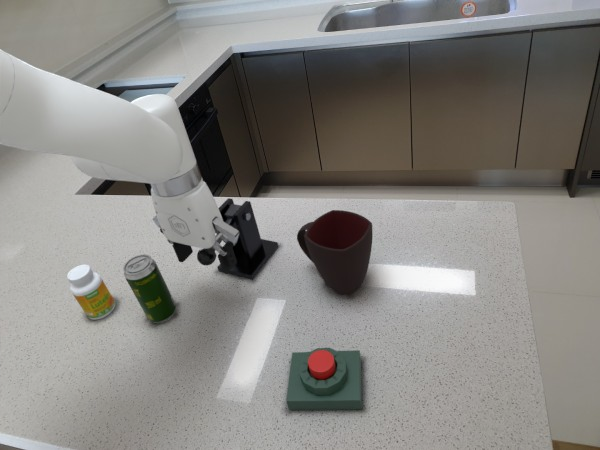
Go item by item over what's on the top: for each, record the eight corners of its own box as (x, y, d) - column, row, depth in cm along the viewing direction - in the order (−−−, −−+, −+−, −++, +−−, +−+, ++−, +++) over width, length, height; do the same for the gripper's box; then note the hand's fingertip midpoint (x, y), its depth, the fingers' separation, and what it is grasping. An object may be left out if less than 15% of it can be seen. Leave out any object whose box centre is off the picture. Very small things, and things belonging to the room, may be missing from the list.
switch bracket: (252, 280, 86) (235, 226, 78) (218, 271, 89) (199, 219, 82) (278, 246, 92) (265, 194, 85) (245, 239, 96) (230, 188, 88)
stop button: (336, 357, 65) (334, 349, 64) (335, 379, 62) (333, 371, 61) (310, 357, 65) (308, 350, 64) (308, 380, 62) (306, 372, 61)
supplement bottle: (99, 324, 83) (75, 286, 78) (81, 315, 86) (56, 278, 80) (122, 303, 87) (100, 265, 81) (103, 295, 90) (81, 258, 84)
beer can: (169, 297, 86) (146, 249, 79) (182, 312, 82) (159, 262, 75) (143, 314, 84) (116, 265, 76) (155, 329, 80) (128, 280, 73)
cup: (353, 311, 76) (345, 256, 68) (290, 282, 84) (277, 230, 77) (385, 274, 81) (380, 220, 74) (322, 250, 89) (313, 199, 82)
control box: (361, 359, 68) (358, 342, 66) (361, 409, 62) (359, 392, 59) (294, 361, 70) (289, 344, 67) (289, 410, 63) (283, 393, 61)
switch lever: (212, 270, 78) (205, 259, 76) (198, 267, 80) (190, 255, 78) (248, 216, 86) (243, 204, 83) (234, 213, 87) (228, 201, 85)
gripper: (118, 184, 71) (157, 266, 81) (205, 199, 63) (236, 288, 73) (150, 160, 76) (183, 240, 86) (235, 171, 68) (260, 257, 78)
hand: (207, 262), depth 80 cm, fingers open, 9 cm apart
